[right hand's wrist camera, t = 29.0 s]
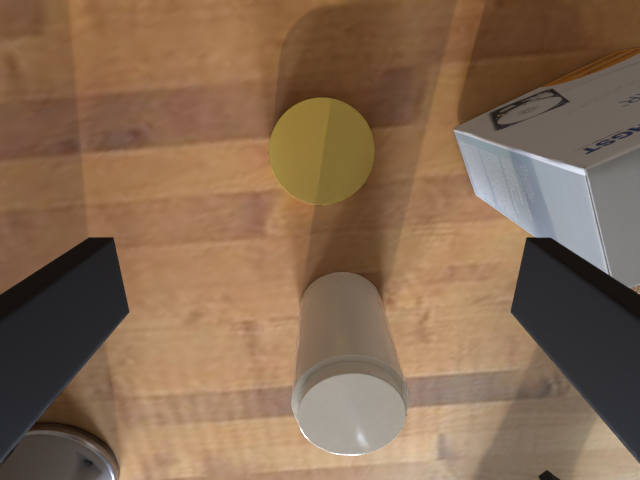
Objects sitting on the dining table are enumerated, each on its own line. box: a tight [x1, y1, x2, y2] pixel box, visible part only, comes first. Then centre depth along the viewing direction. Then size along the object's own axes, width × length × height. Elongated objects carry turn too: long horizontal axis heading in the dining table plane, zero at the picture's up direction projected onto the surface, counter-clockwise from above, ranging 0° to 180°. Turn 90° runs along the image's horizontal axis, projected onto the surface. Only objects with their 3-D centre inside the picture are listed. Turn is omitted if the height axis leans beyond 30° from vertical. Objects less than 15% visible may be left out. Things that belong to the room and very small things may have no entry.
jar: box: [291, 272, 409, 455], centre depth 36 cm, size 9×9×15 cm
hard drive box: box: [454, 47, 640, 288], centre depth 26 cm, size 16×8×20 cm, turn 116°
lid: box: [269, 97, 375, 205], centre depth 36 cm, size 10×10×2 cm
